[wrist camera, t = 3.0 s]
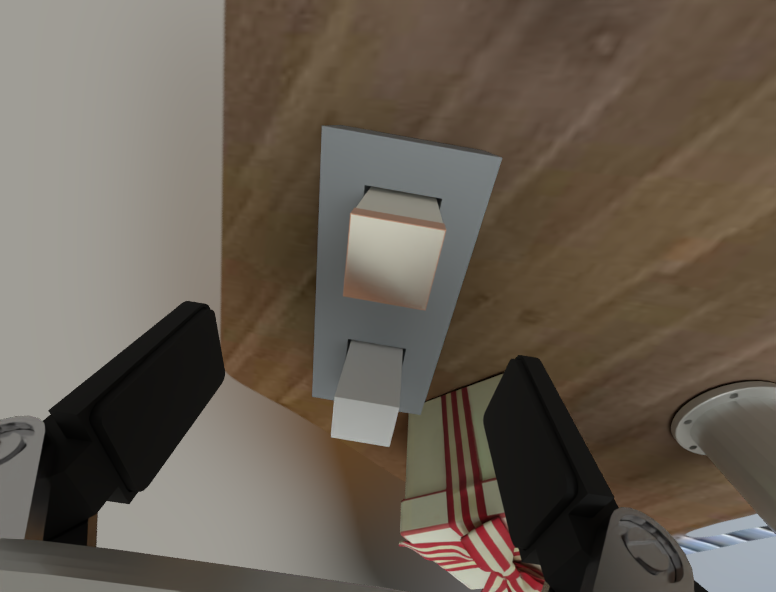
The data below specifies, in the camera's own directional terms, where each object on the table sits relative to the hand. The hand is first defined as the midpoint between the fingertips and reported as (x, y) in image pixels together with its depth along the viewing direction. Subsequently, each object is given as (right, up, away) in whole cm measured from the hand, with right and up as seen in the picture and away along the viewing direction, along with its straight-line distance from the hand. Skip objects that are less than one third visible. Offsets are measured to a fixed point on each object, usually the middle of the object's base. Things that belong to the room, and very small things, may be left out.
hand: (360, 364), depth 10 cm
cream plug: (+2, +10, +18) cm, 21 cm away
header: (+1, +4, +22) cm, 22 cm away
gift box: (+13, -16, +33) cm, 39 cm away
